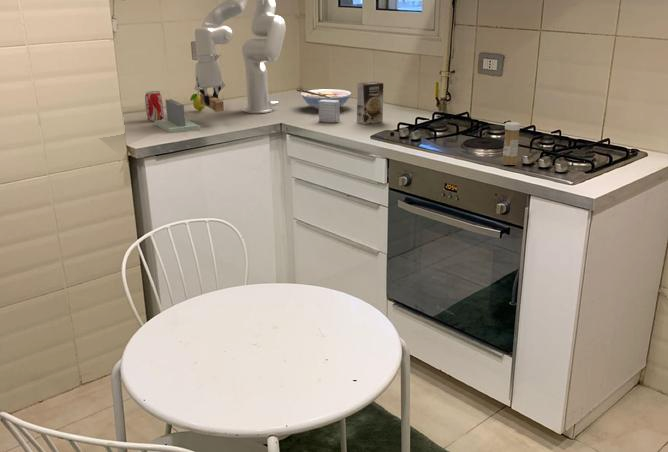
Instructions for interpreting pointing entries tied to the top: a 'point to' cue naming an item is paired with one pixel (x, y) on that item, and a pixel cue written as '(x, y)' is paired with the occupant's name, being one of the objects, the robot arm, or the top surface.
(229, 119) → the top surface
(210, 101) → the walnut bar
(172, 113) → the stand
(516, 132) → the sprinkles bottle
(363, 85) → the coffee box
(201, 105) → the lemon
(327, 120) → the medicine box
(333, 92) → the ramen bowl
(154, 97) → the soda can
